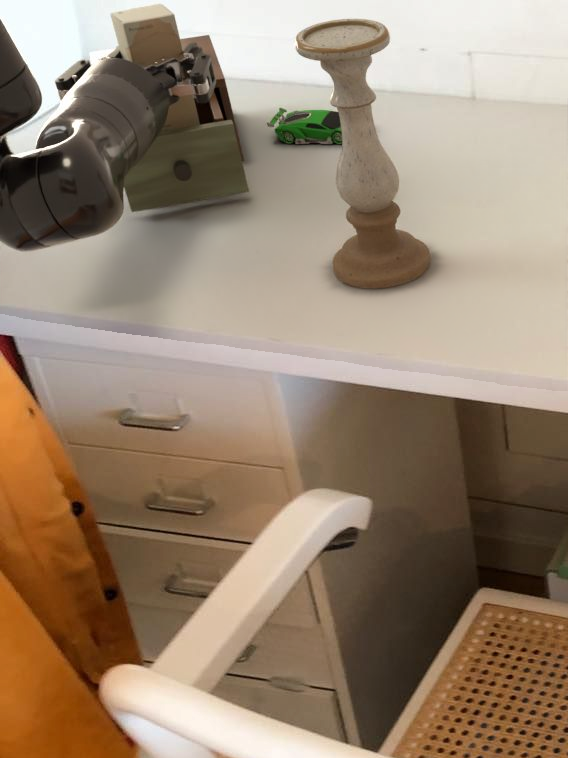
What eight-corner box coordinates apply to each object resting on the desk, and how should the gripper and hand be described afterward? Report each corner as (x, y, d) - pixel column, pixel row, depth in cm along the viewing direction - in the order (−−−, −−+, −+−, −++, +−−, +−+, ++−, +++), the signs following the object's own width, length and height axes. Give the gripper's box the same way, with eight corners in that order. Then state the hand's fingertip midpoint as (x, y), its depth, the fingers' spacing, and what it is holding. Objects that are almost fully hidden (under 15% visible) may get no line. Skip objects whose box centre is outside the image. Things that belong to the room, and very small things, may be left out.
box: (152, 143, 126) (118, 23, 119) (139, 130, 129) (106, 12, 121) (205, 130, 128) (174, 11, 121) (191, 118, 131) (161, 1, 123)
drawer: (251, 196, 128) (234, 128, 123) (132, 217, 125) (111, 148, 121) (232, 142, 138) (217, 77, 134) (123, 161, 136) (103, 95, 131)
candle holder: (348, 298, 113) (300, 59, 100) (323, 257, 119) (275, 27, 106) (443, 275, 116) (409, 39, 102) (414, 236, 122) (378, 8, 108)
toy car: (371, 128, 142) (368, 107, 141) (359, 145, 139) (355, 124, 137) (284, 127, 143) (279, 106, 142) (270, 144, 140) (265, 123, 138)
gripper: (181, 70, 111) (224, 10, 123) (14, 78, 111) (74, 17, 124) (203, 157, 116) (243, 90, 128) (44, 164, 116) (99, 97, 129)
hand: (160, 54), depth 126 cm, fingers closed on box, 6 cm apart
